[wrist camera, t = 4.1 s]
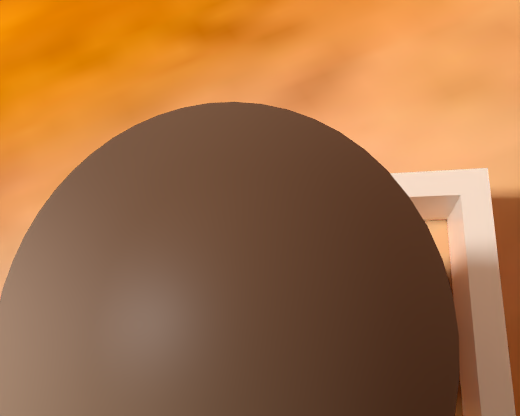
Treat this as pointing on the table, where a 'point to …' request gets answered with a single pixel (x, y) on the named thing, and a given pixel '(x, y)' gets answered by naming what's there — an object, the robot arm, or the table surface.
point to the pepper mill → (228, 280)
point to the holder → (471, 282)
